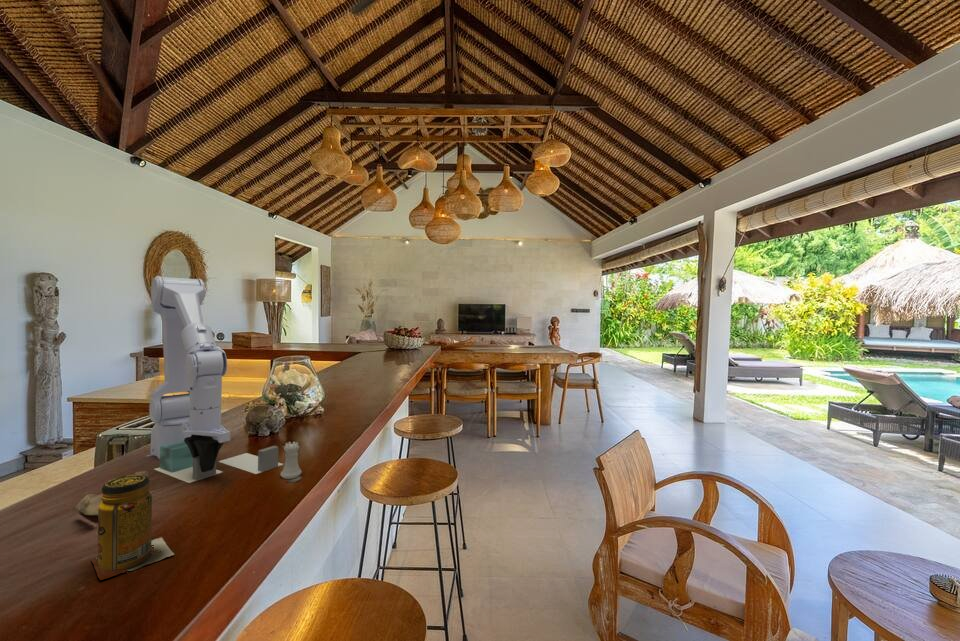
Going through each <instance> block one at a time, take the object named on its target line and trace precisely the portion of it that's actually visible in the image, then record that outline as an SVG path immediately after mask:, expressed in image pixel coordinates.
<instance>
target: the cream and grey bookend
mask: <svg viewBox="0 0 960 641" xmlns="http://www.w3.org/2000/svg"><path fill="white" fill-rule="evenodd" d="M218 463H221V464H224V465H227V466H230V467H233V468H236V469H239V470H242V471H245V472H248V473H250V474H254V475H257V474H260V473H261V474H262V473H264V472H266V471H269V470H272V469H275V468H277V467H280V466H283V465H284V463H281V462H279V446H277V445H271V446H269V447H265V448H262V449H259V450H257V455H254V454H251V453H248V452H246V453H242V454H238V455H235V456H232V457H228V458H224V459H221V460H218Z"/></svg>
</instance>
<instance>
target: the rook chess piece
mask: <svg viewBox="0 0 960 641" xmlns="http://www.w3.org/2000/svg"><path fill="white" fill-rule="evenodd" d="M299 449H300V446H299V442H298V441H297V442H296V441H292V442H291V441H288V442H286V443H285V446H284V447H283V450H284V452H285V454H284V457H285V460H284V464H283V465H284V467H283V468H282V471H280V477H281V478H282V479H285V480H287V481H285V482H284V484H293V483H297V482H298V481H300V480H301V479H302V477H303V476H302V475H301V474H302V473H303V472H302V469H301V467H300V466H299V462H298V461H299V460H298V455H299V453H298V450H299ZM290 479H291V480H290Z"/></svg>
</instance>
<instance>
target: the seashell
mask: <svg viewBox="0 0 960 641" xmlns="http://www.w3.org/2000/svg"><path fill="white" fill-rule="evenodd" d="M134 472H135V471H134ZM134 475H145V476H147V477H148V478H149V479H150V477H149V471H148V470H143V471H136V472H135V473H134ZM101 502H102V493H101V494H90V493H89V494H87V495H85V496H84V497H83V498H82V499H81V500H80V501H79V502H78V503H77V505H76V506H75V509H77V511H78V512H81V513H82V514H83V515H85V516H97V517H98V515H99V514H98V510H99V505H100V503H101Z"/></svg>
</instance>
